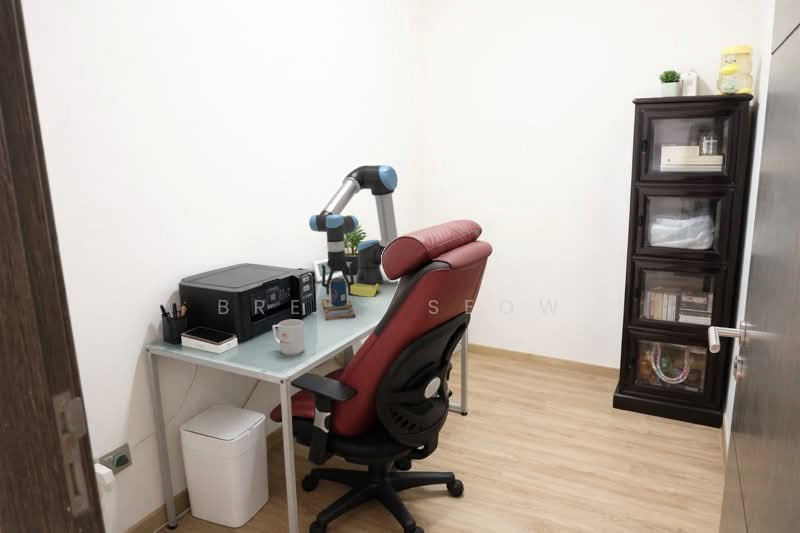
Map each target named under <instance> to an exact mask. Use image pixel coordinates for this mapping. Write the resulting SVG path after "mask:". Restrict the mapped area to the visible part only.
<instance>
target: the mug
mask: <svg viewBox="0 0 800 533" xmlns="http://www.w3.org/2000/svg"><path fill="white" fill-rule="evenodd" d="M276 327H277V328H278V337H279V338H278V337H277V330H276ZM271 328H272V332H273V334H272V335H273V340H274V342H276V343H277V344H278V345H279V350H280V352H281V353H282V355H285V356H297V355H300V354H302V353H303V351H304V350H305V348H306V347H305V336H304V335H305V331H304V321H303V320H300V319H295V318H293V319H285V320H281V321H280V322H278V324H273V325H272V327H271Z"/></svg>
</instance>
